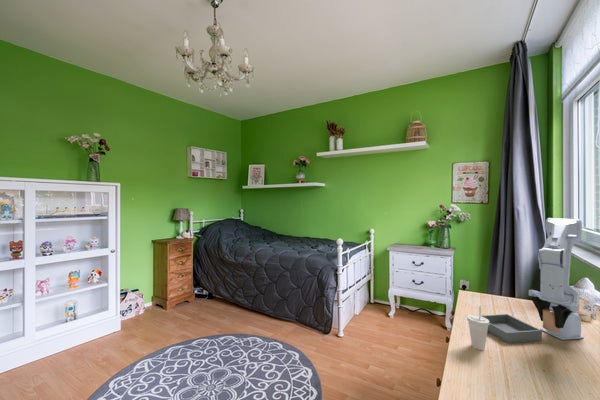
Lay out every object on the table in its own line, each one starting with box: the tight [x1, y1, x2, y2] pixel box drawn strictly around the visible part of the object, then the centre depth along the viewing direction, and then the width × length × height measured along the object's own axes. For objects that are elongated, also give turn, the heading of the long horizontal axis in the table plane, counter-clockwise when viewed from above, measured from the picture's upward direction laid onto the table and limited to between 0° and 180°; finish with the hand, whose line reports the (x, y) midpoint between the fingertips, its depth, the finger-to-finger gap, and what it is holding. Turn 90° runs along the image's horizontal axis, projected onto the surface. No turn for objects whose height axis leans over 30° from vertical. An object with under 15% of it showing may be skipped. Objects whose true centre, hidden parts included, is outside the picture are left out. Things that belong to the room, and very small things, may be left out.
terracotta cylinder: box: [542, 309, 561, 332], centre depth 91 cm, size 4×4×6 cm
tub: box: [481, 313, 543, 344], centre depth 103 cm, size 14×14×4 cm
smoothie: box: [466, 305, 490, 351], centre depth 92 cm, size 6×6×14 cm
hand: (551, 324), depth 91 cm, fingers closed on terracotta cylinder, 4 cm apart
